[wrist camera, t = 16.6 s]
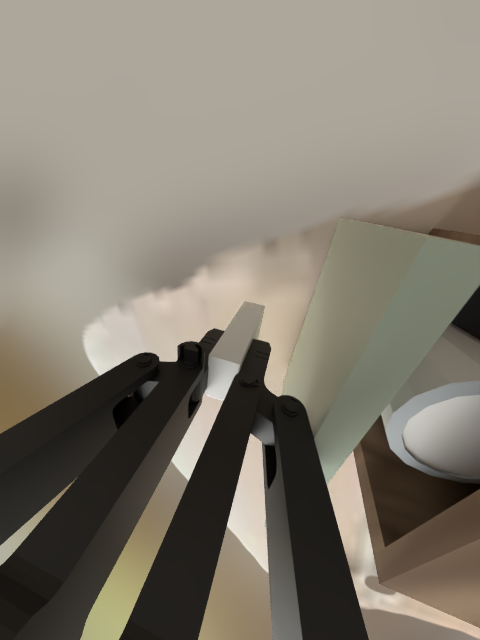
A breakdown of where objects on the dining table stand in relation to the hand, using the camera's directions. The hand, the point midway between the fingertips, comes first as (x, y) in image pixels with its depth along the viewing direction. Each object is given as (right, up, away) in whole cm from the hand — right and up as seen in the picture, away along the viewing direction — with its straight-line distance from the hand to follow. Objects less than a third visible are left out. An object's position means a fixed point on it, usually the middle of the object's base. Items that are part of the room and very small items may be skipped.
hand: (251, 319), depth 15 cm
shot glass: (+11, -2, 0) cm, 12 cm away
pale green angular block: (+11, -1, 0) cm, 11 cm away
